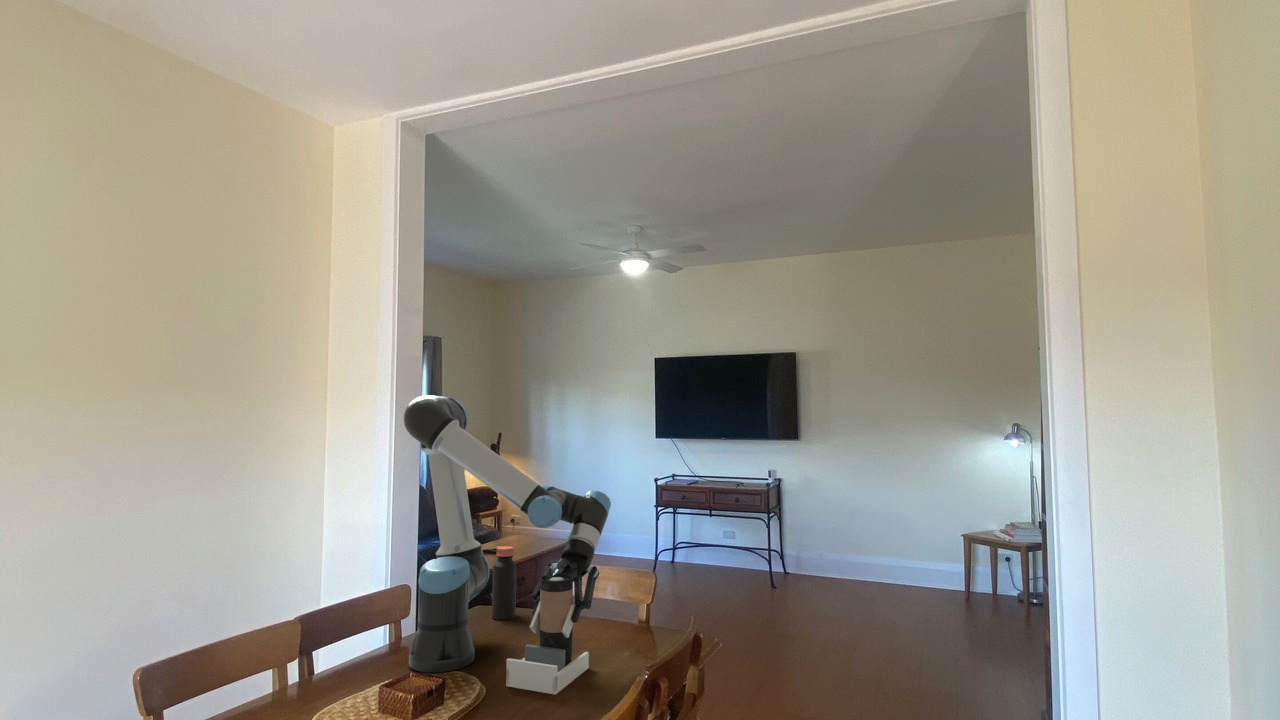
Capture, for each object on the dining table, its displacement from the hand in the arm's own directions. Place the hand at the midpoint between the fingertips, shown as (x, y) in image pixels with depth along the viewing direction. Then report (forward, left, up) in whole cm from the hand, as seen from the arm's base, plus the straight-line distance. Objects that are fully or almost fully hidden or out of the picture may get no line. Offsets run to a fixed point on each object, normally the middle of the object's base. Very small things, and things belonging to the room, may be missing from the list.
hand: (548, 632), depth 149 cm
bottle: (-35, +36, -10) cm, 51 cm away
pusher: (0, -1, -10) cm, 10 cm away
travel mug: (0, +4, -9) cm, 9 cm away
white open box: (0, +1, -10) cm, 10 cm away
